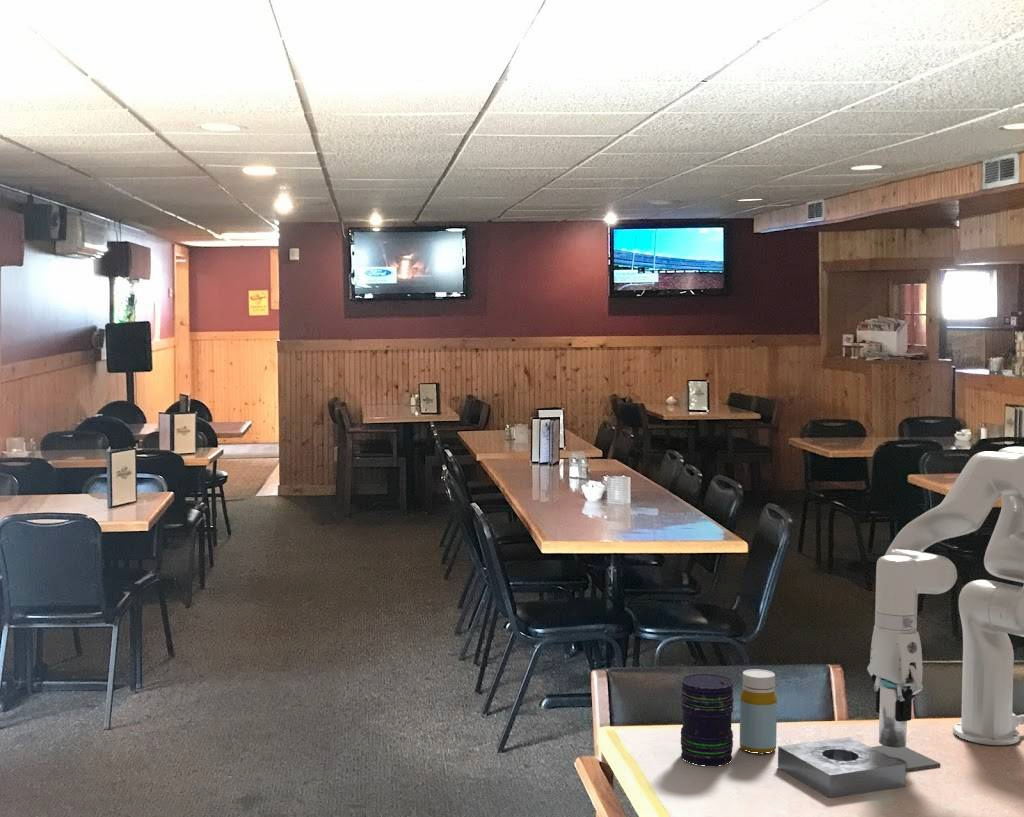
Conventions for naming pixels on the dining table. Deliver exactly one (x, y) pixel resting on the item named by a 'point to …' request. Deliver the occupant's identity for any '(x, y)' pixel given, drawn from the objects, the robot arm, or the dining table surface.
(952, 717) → the dining table surface
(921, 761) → the mat
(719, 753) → the storage jar
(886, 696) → the plug
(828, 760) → the housing
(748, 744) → the bottle
